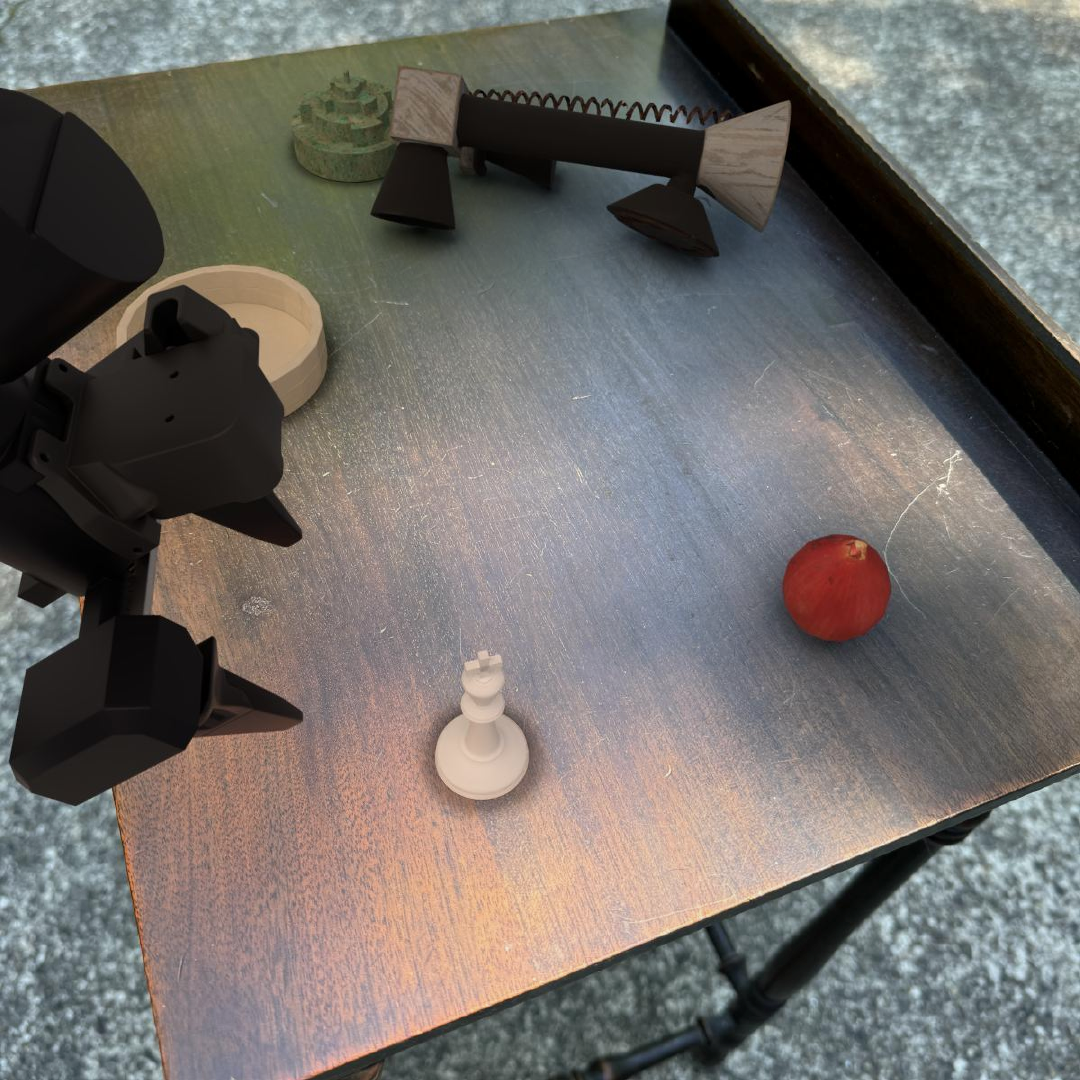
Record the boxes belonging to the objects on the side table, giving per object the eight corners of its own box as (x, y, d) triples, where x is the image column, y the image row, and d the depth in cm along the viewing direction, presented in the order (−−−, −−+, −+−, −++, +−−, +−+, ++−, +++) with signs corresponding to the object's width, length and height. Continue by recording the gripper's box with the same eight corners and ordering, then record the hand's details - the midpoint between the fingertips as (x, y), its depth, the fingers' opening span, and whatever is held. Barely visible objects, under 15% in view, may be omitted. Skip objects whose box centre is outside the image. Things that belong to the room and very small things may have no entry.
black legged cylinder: (736, 285, 88) (397, 232, 89) (764, 133, 86) (417, 81, 87) (763, 269, 73) (356, 206, 74) (798, 85, 71) (378, 22, 72)
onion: (751, 599, 61) (783, 513, 54) (834, 574, 62) (874, 488, 56) (800, 679, 57) (840, 597, 51) (886, 651, 59) (935, 568, 53)
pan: (130, 447, 66) (115, 407, 63) (130, 315, 74) (116, 275, 71) (338, 419, 68) (332, 380, 66) (316, 294, 76) (310, 255, 73)
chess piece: (425, 727, 54) (417, 622, 46) (513, 705, 55) (520, 599, 48) (447, 811, 51) (443, 715, 44) (540, 786, 53) (552, 688, 45)
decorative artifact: (320, 112, 92) (277, 170, 86) (311, 33, 87) (263, 90, 81) (426, 130, 91) (389, 191, 85) (423, 53, 86) (384, 111, 80)
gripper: (69, 553, 23) (471, 757, 34) (144, 123, 35) (428, 381, 46) (-205, 731, 27) (234, 863, 38) (-57, 293, 39) (249, 492, 50)
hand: (295, 625), depth 43 cm, fingers open, 9 cm apart
